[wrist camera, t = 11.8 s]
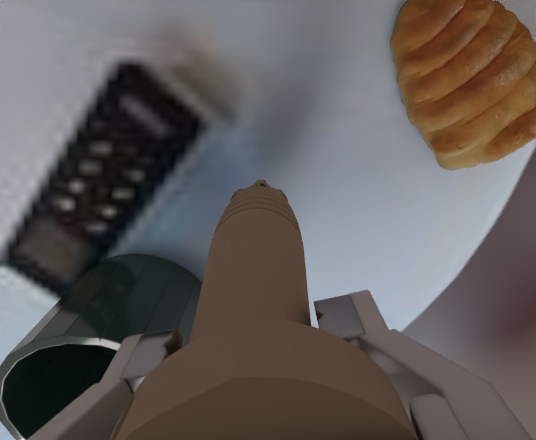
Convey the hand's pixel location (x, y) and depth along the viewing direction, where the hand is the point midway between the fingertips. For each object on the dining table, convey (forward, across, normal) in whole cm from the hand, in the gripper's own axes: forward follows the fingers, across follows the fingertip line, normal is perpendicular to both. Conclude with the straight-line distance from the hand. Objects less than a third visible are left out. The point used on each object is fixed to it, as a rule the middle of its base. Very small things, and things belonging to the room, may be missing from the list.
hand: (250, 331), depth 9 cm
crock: (+13, +11, +8) cm, 18 cm away
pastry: (+13, -12, -4) cm, 18 cm away
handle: (+11, 0, 0) cm, 11 cm away
